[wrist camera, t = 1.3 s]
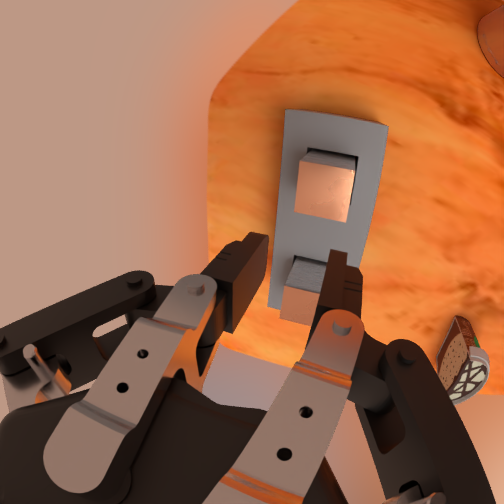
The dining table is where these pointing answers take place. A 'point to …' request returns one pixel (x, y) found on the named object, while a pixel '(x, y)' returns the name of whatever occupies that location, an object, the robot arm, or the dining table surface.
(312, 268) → the peg far
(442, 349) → the half cake
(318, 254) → the guide block
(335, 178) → the peg near
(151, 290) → the robot arm
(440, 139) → the dining table surface
